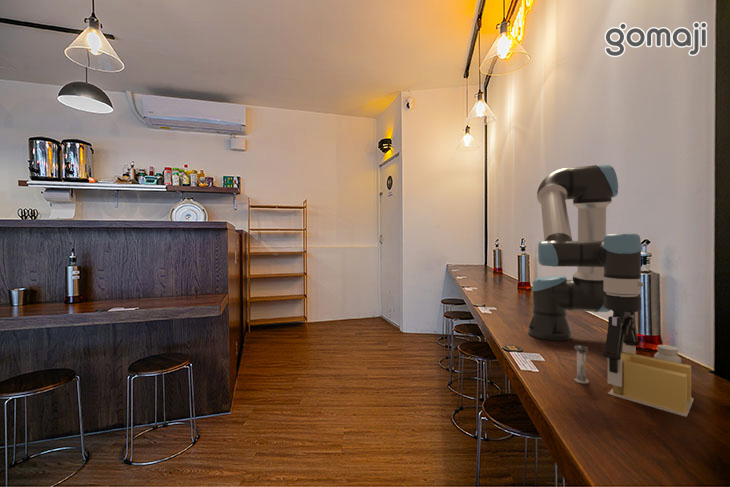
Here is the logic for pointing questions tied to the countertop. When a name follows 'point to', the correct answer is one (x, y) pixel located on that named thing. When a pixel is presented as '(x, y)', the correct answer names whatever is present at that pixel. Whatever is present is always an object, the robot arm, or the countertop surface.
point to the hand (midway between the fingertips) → (622, 376)
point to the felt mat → (654, 404)
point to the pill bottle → (667, 353)
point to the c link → (655, 381)
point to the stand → (581, 364)
